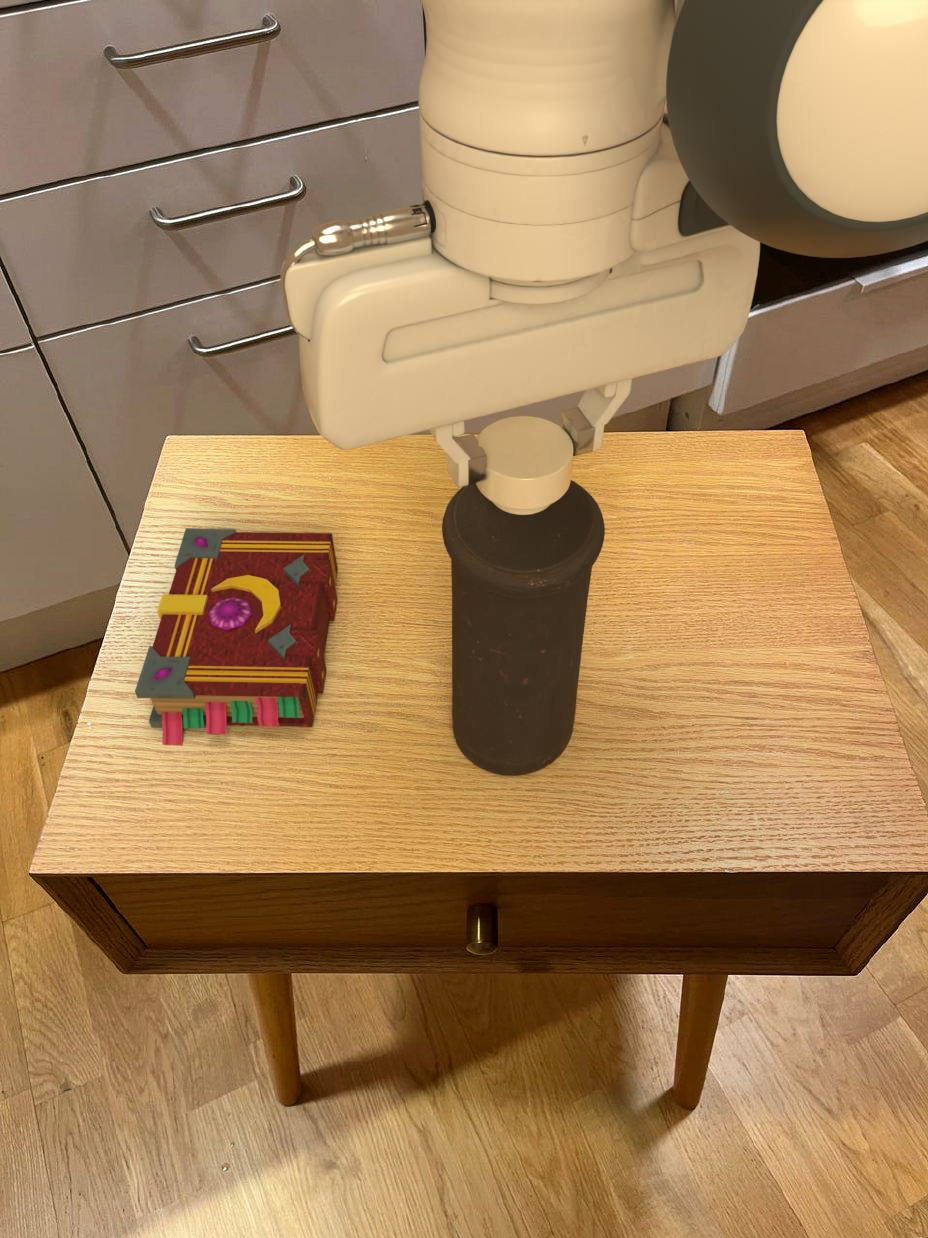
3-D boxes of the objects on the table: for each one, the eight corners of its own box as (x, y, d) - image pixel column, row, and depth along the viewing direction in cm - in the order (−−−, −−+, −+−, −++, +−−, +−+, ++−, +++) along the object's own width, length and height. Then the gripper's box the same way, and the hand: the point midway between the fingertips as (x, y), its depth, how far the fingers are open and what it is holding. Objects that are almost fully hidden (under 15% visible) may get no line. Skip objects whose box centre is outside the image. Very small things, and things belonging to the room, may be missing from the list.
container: (596, 697, 66) (630, 478, 51) (548, 802, 61) (570, 593, 46) (482, 656, 69) (482, 436, 54) (427, 754, 64) (409, 540, 48)
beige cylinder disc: (587, 486, 49) (593, 440, 47) (532, 539, 47) (534, 493, 45) (512, 449, 51) (514, 403, 49) (455, 497, 49) (454, 451, 46)
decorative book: (342, 571, 75) (334, 524, 71) (314, 747, 64) (304, 704, 60) (197, 569, 75) (182, 523, 71) (147, 744, 65) (125, 701, 61)
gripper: (293, 278, 33) (340, 560, 43) (808, 170, 37) (736, 450, 48) (252, 196, 36) (304, 474, 47) (723, 107, 41) (674, 379, 51)
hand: (525, 461), depth 47 cm, fingers closed on beige cylinder disc, 5 cm apart
